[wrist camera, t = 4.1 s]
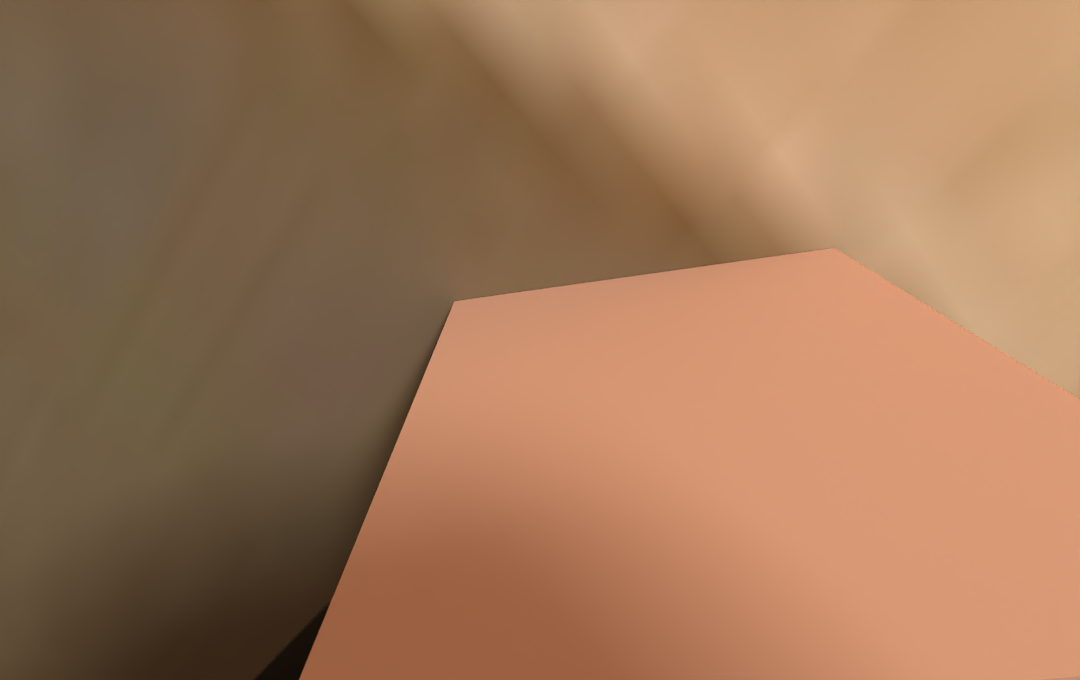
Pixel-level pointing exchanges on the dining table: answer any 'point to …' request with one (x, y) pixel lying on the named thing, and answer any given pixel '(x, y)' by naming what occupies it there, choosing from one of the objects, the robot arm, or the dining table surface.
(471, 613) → the block
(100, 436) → the dining table surface
